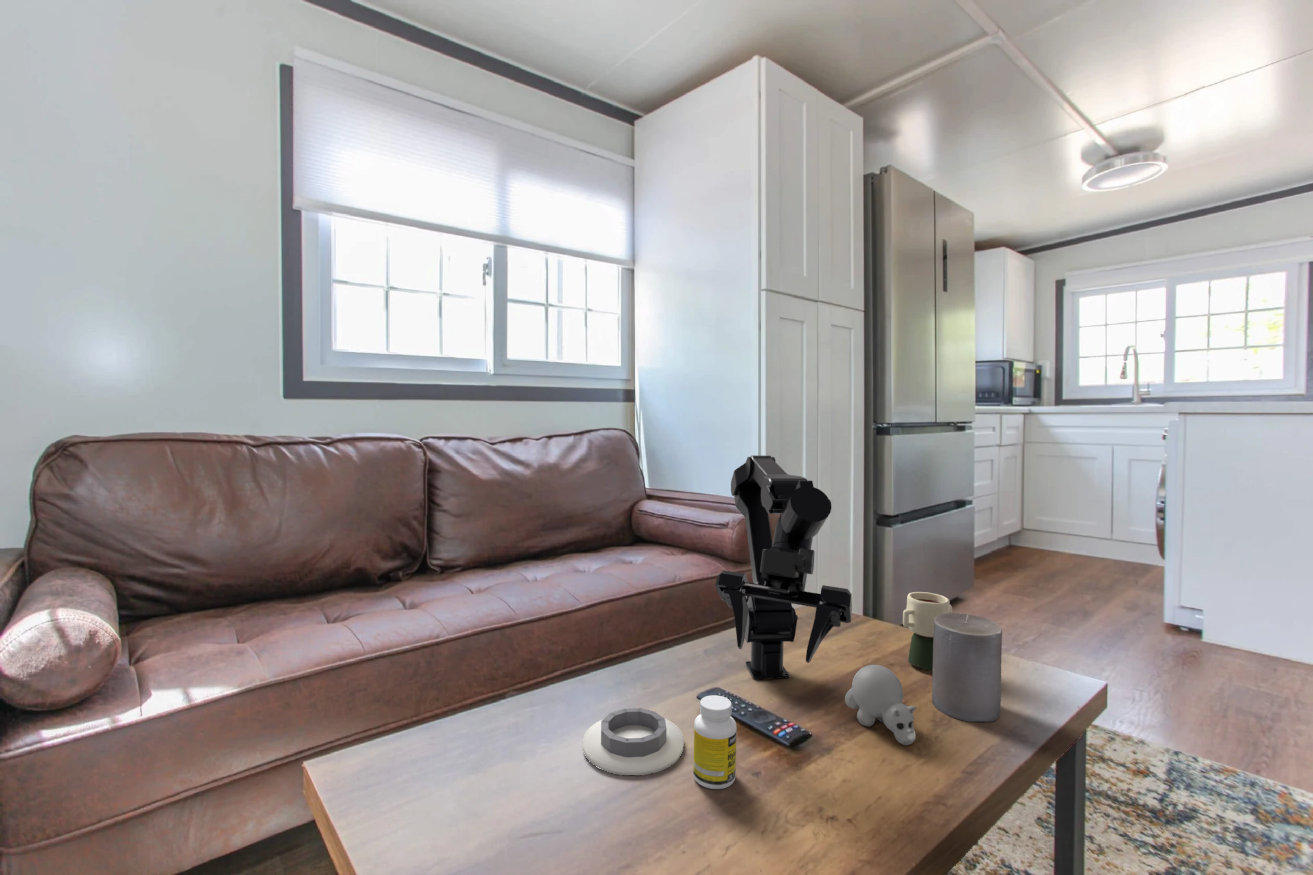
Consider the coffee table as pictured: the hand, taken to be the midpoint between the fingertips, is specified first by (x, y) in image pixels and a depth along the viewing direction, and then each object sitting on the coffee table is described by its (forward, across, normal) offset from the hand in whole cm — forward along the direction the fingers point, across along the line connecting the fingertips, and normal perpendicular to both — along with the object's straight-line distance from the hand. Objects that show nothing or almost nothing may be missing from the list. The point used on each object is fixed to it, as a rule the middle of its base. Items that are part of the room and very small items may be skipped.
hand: (772, 654), depth 80 cm
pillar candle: (-6, +26, +28) cm, 39 cm away
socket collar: (+14, -18, +5) cm, 24 cm away
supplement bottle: (+16, -5, +3) cm, 17 cm away
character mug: (-15, +21, +39) cm, 47 cm away
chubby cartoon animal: (+2, +14, +19) cm, 24 cm away
